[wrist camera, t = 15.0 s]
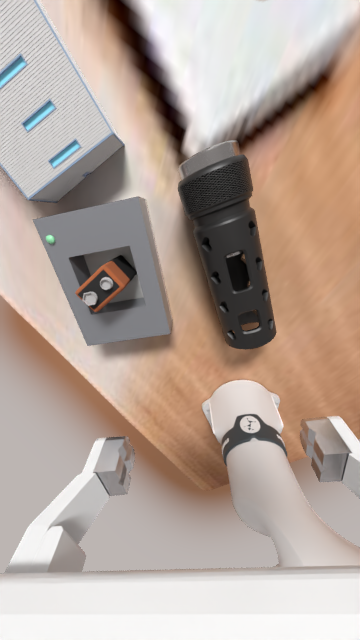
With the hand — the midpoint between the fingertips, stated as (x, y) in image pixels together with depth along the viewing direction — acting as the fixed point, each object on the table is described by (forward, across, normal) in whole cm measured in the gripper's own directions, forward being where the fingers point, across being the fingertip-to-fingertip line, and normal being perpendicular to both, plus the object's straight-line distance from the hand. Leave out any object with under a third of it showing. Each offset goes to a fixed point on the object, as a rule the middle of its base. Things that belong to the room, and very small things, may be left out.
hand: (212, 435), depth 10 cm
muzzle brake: (+34, -6, -2) cm, 34 cm away
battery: (+32, +14, -2) cm, 35 cm away
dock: (+33, +14, -2) cm, 36 cm away
